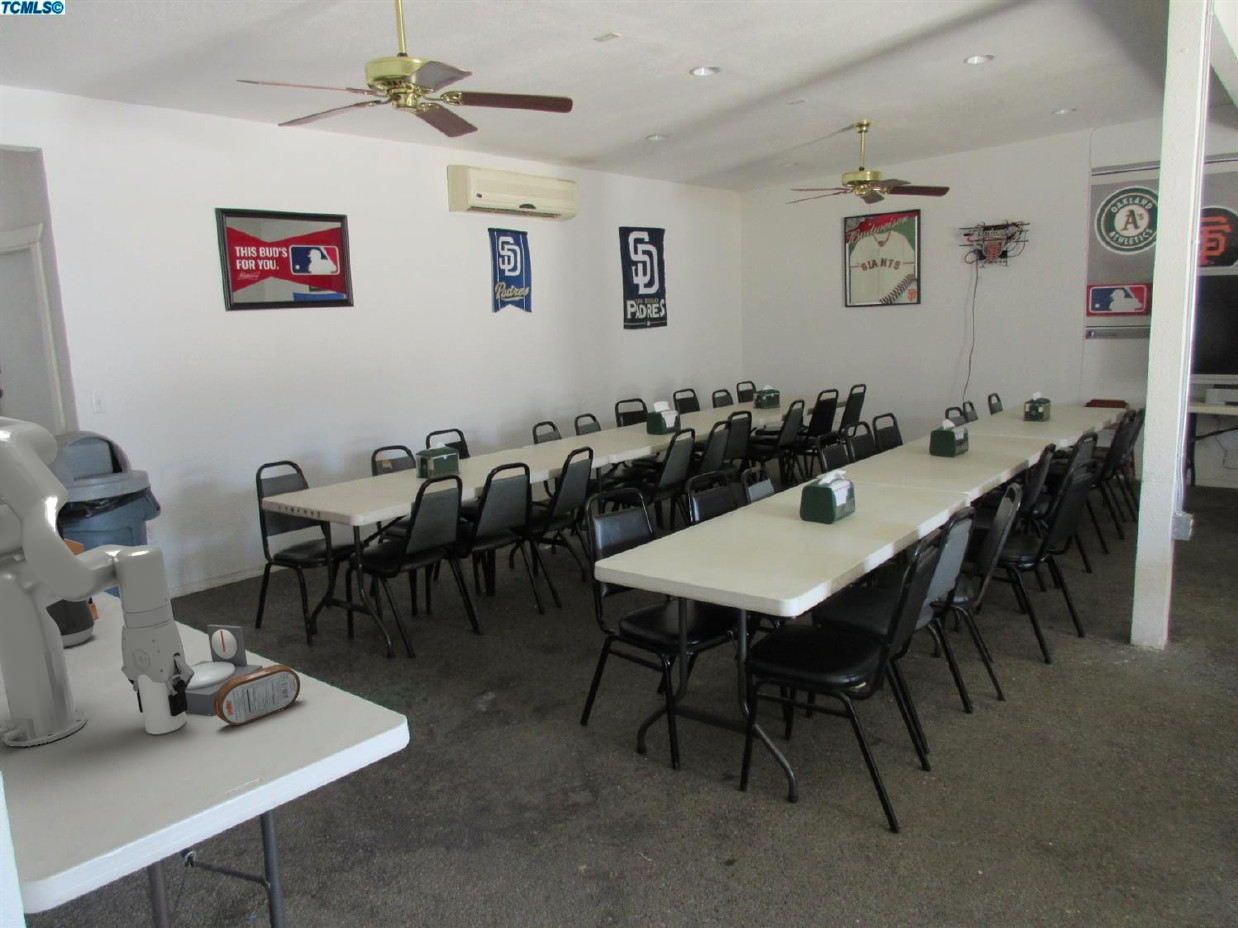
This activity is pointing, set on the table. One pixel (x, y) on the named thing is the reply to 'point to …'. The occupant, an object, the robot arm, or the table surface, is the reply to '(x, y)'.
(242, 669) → the scale
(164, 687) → the can
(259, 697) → the tin
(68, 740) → the table surface
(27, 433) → the robot arm
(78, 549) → the whiskey bottle
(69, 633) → the pump dispenser
